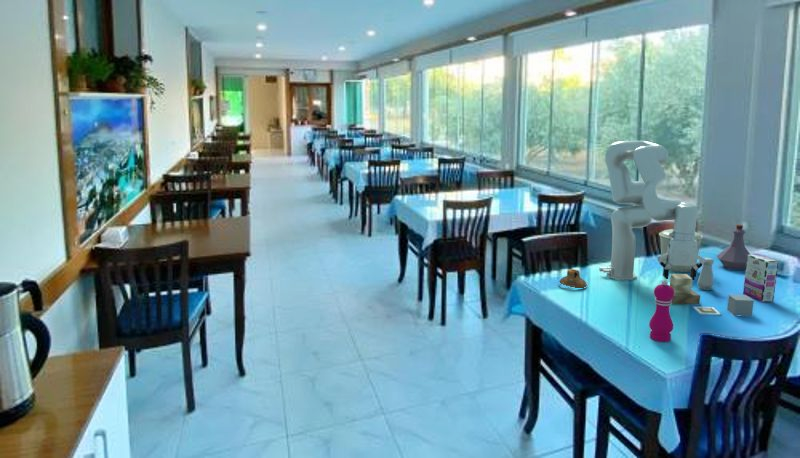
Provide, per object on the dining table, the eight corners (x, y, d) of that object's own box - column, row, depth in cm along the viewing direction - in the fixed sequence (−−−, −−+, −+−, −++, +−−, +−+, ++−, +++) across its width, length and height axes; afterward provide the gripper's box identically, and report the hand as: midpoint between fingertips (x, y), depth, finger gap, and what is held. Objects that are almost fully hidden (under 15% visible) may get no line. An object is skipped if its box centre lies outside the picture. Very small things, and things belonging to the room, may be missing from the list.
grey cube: (733, 315, 203) (735, 299, 202) (727, 309, 209) (728, 294, 208) (751, 316, 202) (753, 300, 201) (744, 310, 208) (746, 295, 207)
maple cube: (674, 293, 217) (675, 278, 216) (669, 288, 223) (670, 273, 222) (690, 293, 217) (692, 278, 215) (685, 288, 222) (686, 274, 221)
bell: (572, 280, 247) (573, 265, 246) (592, 288, 237) (593, 271, 235) (551, 285, 243) (552, 268, 241) (571, 292, 232) (572, 275, 230)
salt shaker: (714, 291, 230) (718, 260, 227) (699, 290, 231) (702, 259, 228) (710, 286, 235) (713, 256, 232) (695, 286, 236) (698, 256, 234)
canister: (707, 274, 251) (712, 228, 247) (666, 275, 252) (670, 229, 247) (687, 263, 269) (691, 220, 264) (649, 264, 269) (653, 221, 265)
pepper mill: (650, 332, 190) (655, 275, 186) (674, 336, 186) (679, 279, 182) (646, 339, 184) (650, 281, 180) (670, 344, 180) (675, 284, 176)
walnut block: (672, 305, 216) (673, 295, 215) (661, 297, 225) (662, 287, 224) (699, 305, 215) (700, 295, 214) (687, 296, 225) (688, 287, 224)
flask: (707, 263, 269) (711, 222, 265) (739, 261, 271) (743, 221, 267) (730, 273, 253) (735, 229, 249) (764, 271, 255) (769, 228, 251)
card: (700, 314, 205) (700, 312, 205) (693, 307, 212) (693, 306, 212) (720, 314, 204) (720, 313, 204) (713, 308, 211) (713, 306, 210)
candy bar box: (774, 302, 216) (779, 261, 212) (762, 302, 215) (767, 261, 212) (754, 292, 227) (758, 253, 223) (742, 293, 226) (746, 254, 223)
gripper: (662, 238, 213) (658, 281, 217) (711, 239, 211) (706, 282, 215) (657, 233, 220) (652, 274, 224) (704, 234, 218) (699, 276, 222)
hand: (679, 278), depth 220 cm, fingers open, 9 cm apart
